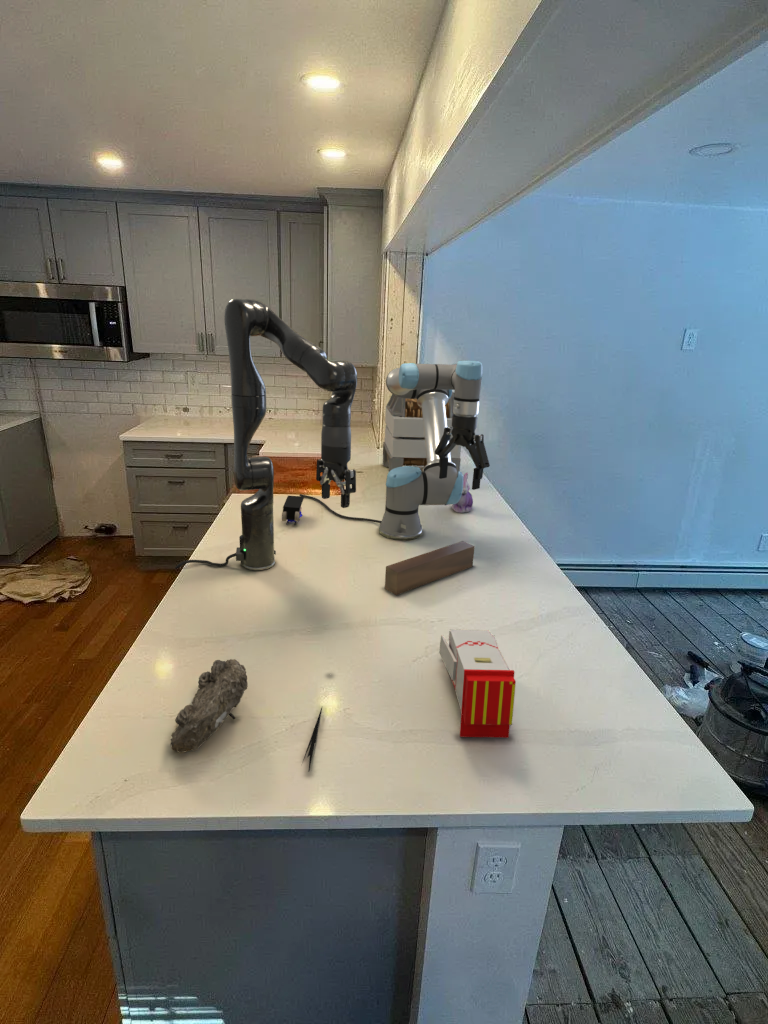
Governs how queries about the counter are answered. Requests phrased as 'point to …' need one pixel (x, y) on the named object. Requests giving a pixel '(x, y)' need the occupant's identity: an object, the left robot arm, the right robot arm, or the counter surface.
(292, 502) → the figurine character
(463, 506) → the figurine
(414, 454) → the grey slatted crate
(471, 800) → the counter surface
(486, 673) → the toy
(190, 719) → the fossil
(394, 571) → the walnut beam
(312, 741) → the feather
